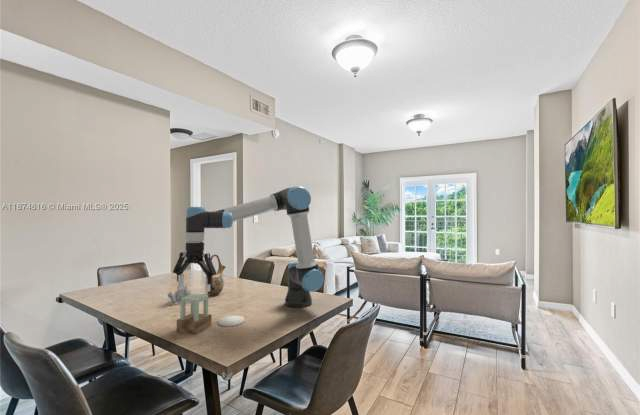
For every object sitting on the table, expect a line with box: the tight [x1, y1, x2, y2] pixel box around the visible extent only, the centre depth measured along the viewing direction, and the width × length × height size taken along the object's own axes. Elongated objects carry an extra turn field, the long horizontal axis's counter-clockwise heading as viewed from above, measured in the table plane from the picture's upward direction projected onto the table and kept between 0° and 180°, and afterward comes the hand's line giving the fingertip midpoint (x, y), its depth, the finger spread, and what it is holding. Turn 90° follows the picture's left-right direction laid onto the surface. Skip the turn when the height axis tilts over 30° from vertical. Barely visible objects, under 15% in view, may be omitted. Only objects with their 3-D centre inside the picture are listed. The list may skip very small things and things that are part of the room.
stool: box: [179, 293, 209, 321], centre depth 134 cm, size 8×8×9 cm
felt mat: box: [217, 315, 246, 327], centre depth 143 cm, size 12×12×1 cm
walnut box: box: [176, 313, 212, 335], centre depth 134 cm, size 10×10×5 cm
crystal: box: [167, 284, 191, 306], centre depth 173 cm, size 10×13×15 cm
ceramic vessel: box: [202, 253, 227, 297], centre depth 189 cm, size 16×9×25 cm, turn 147°
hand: (194, 290), depth 134 cm, fingers open, 13 cm apart
